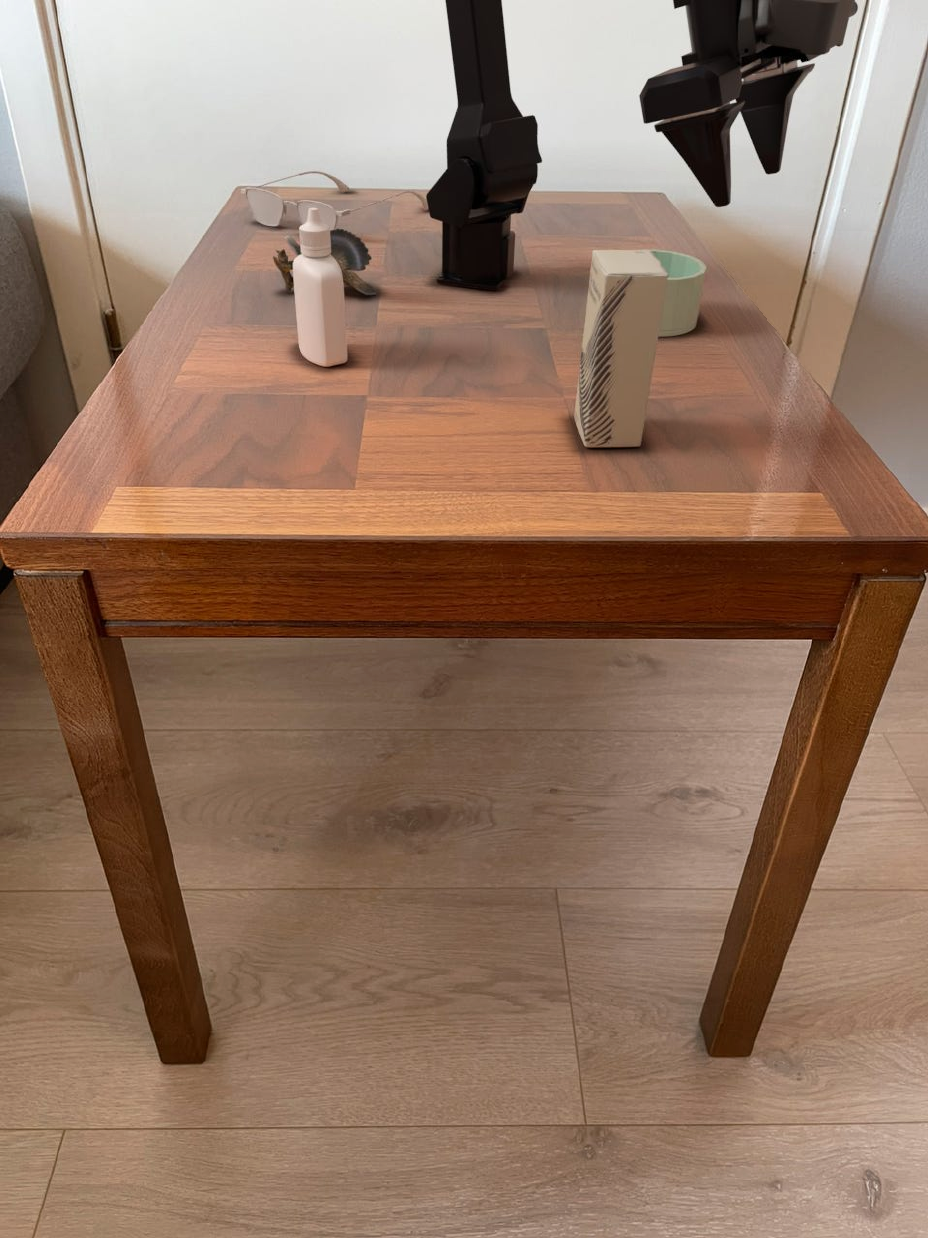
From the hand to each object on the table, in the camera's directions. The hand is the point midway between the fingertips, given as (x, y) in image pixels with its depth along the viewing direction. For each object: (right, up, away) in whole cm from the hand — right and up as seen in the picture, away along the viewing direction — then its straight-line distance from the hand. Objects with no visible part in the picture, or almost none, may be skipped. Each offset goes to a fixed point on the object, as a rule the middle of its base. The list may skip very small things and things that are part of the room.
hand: (749, 188), depth 77 cm
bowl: (-5, -6, +15) cm, 17 cm away
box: (-12, -20, -4) cm, 24 cm away
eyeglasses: (-37, +15, +41) cm, 57 cm away
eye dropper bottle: (-35, -12, +7) cm, 37 cm away
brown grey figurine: (-36, -2, +19) cm, 41 cm away
